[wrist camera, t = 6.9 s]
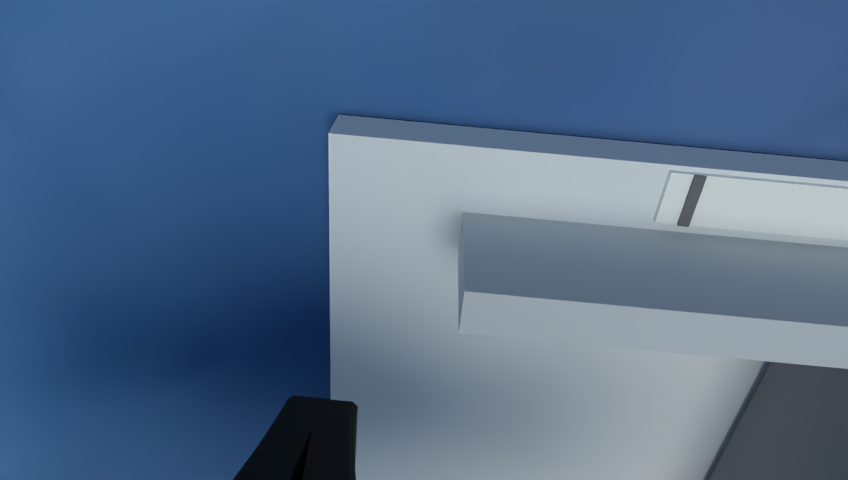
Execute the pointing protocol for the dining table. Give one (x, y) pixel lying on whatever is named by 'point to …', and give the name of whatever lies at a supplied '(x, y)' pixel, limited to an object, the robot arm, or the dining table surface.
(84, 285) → the dining table surface
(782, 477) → the block with orange peg
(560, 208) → the gauge frame
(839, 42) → the dining table surface
